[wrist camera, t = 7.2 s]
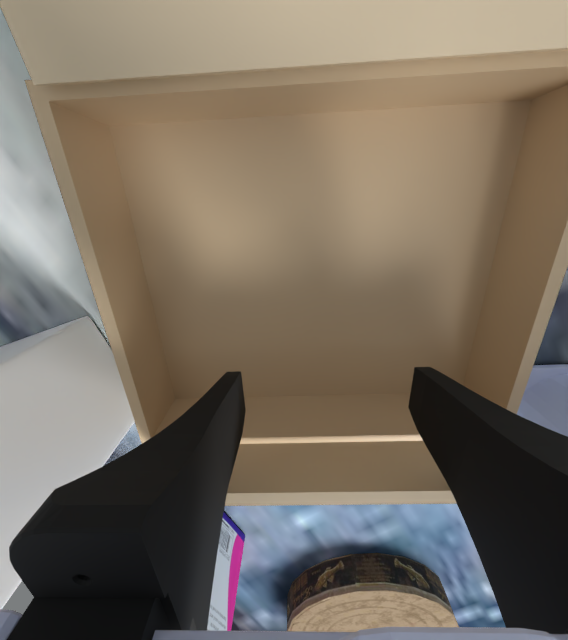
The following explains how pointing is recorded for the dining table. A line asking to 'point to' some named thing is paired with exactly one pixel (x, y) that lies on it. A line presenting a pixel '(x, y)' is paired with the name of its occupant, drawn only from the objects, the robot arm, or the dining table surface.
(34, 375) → the milk carton
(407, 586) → the wood log slice
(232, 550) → the supplement box
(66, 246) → the dining table surface
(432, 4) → the front flap
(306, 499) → the back flap
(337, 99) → the carton
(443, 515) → the dining table surface
